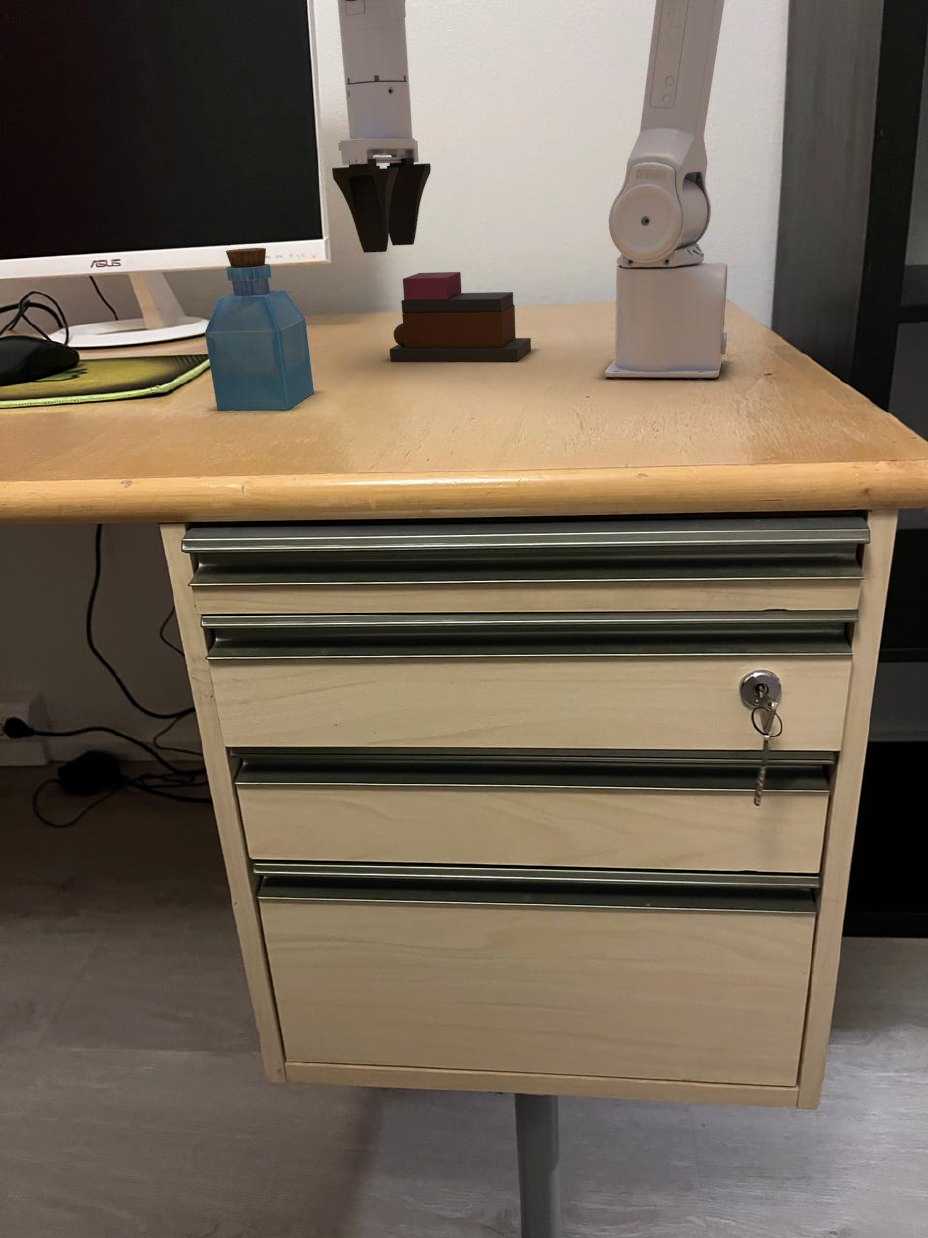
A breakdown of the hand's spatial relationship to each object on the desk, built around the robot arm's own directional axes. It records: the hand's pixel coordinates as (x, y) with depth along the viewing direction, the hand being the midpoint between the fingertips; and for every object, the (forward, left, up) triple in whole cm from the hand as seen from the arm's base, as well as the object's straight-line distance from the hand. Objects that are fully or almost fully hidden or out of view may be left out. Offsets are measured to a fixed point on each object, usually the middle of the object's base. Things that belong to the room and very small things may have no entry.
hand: (389, 248), depth 90 cm
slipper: (-6, -3, -6) cm, 9 cm away
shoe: (-6, -3, -10) cm, 12 cm away
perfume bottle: (+5, +18, -11) cm, 22 cm away
